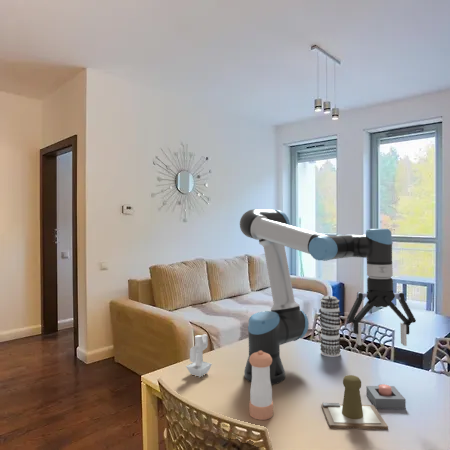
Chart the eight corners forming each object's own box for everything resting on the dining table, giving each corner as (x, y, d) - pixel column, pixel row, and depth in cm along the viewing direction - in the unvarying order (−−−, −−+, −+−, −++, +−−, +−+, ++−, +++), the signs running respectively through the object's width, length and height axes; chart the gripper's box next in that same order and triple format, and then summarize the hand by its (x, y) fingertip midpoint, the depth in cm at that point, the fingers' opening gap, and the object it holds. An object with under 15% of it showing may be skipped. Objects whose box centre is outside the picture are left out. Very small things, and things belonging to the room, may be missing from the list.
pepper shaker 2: (364, 420, 105) (364, 382, 105) (342, 418, 106) (342, 380, 106) (361, 409, 111) (361, 373, 111) (340, 407, 112) (340, 372, 112)
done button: (381, 397, 116) (381, 389, 116) (377, 391, 119) (376, 384, 119) (393, 397, 115) (393, 389, 115) (389, 391, 119) (388, 384, 119)
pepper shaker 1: (271, 407, 115) (270, 346, 115) (275, 419, 108) (274, 354, 107) (248, 407, 115) (247, 347, 115) (250, 420, 107) (249, 355, 107)
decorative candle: (329, 358, 155) (328, 299, 155) (315, 351, 163) (314, 296, 163) (346, 355, 158) (345, 297, 158) (331, 348, 167) (331, 294, 167)
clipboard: (329, 427, 103) (329, 422, 103) (321, 406, 115) (321, 402, 115) (388, 429, 102) (388, 424, 102) (373, 407, 114) (373, 403, 114)
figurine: (184, 376, 139) (183, 337, 138) (199, 368, 147) (198, 331, 146) (199, 381, 135) (198, 340, 135) (213, 372, 143) (213, 333, 143)
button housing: (375, 408, 113) (375, 398, 113) (366, 394, 122) (366, 385, 122) (405, 408, 113) (405, 399, 113) (394, 395, 122) (394, 386, 122)
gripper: (341, 279, 113) (343, 347, 113) (426, 278, 110) (428, 348, 110) (337, 275, 121) (338, 339, 121) (416, 275, 118) (417, 340, 118)
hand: (381, 344), depth 116 cm, fingers open, 13 cm apart
